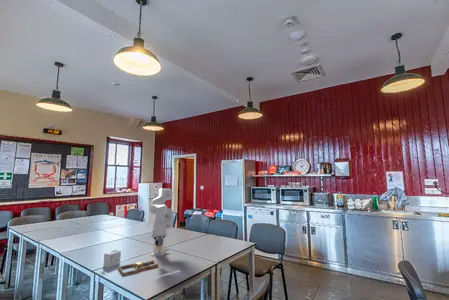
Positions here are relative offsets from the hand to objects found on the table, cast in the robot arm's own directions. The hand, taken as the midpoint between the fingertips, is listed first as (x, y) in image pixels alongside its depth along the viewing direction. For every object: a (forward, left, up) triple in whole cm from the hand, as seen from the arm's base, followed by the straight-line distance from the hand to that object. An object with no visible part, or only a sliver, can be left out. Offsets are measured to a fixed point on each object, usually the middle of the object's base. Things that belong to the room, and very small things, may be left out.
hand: (158, 244), depth 181 cm
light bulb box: (+30, -19, -16) cm, 39 cm away
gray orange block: (0, 0, -4) cm, 4 cm away
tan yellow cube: (+15, 0, -15) cm, 21 cm away
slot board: (+15, 0, -16) cm, 22 cm away
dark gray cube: (+10, 0, -15) cm, 18 cm away
